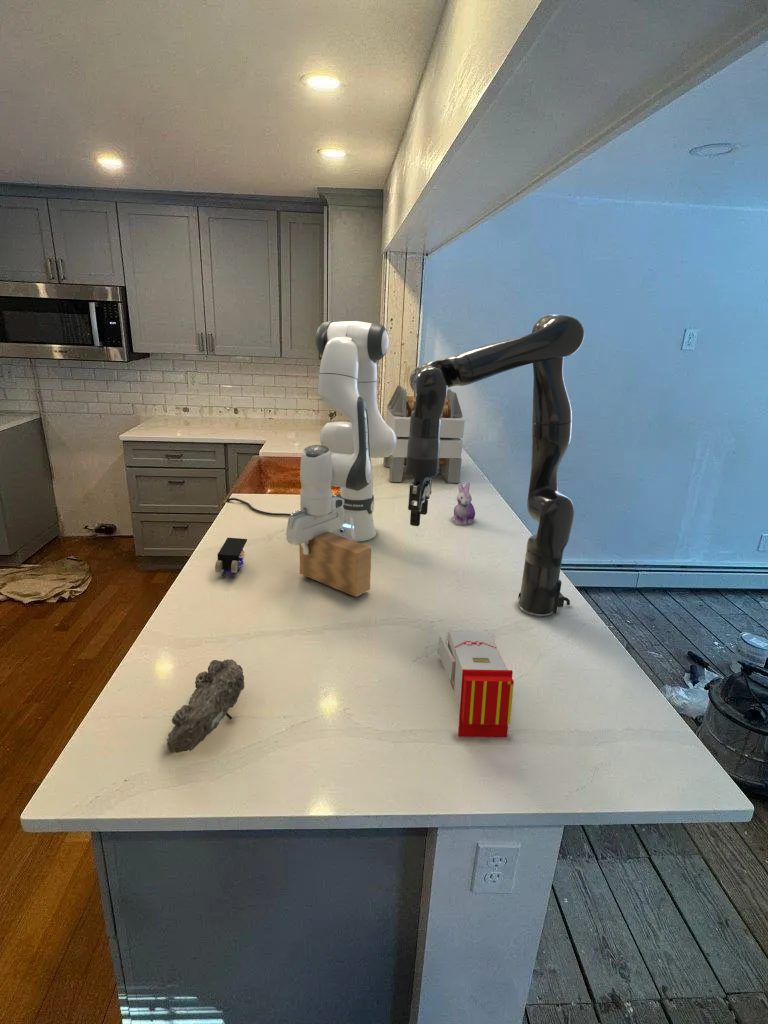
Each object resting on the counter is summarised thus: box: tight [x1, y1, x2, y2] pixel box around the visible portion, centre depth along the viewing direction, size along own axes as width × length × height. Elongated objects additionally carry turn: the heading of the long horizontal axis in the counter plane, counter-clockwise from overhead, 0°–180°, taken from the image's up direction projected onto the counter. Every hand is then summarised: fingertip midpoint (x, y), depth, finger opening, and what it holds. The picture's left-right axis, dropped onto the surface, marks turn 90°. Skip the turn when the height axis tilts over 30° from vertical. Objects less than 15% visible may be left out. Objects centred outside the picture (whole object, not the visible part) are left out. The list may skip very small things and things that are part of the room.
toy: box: [437, 628, 515, 738], centre depth 117 cm, size 12×13×30 cm
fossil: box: [166, 658, 245, 754], centre depth 106 cm, size 22×10×15 cm
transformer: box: [383, 384, 465, 484], centre depth 268 cm, size 34×33×41 cm
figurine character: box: [214, 537, 248, 578], centre depth 166 cm, size 7×8×15 cm
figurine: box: [452, 481, 476, 526], centre depth 212 cm, size 9×10×15 cm
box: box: [299, 532, 372, 598], centre depth 159 cm, size 21×6×13 cm, turn 53°
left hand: (316, 549), depth 163 cm, fingers closed on box, 6 cm apart
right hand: (418, 519), depth 137 cm, fingers open, 8 cm apart
